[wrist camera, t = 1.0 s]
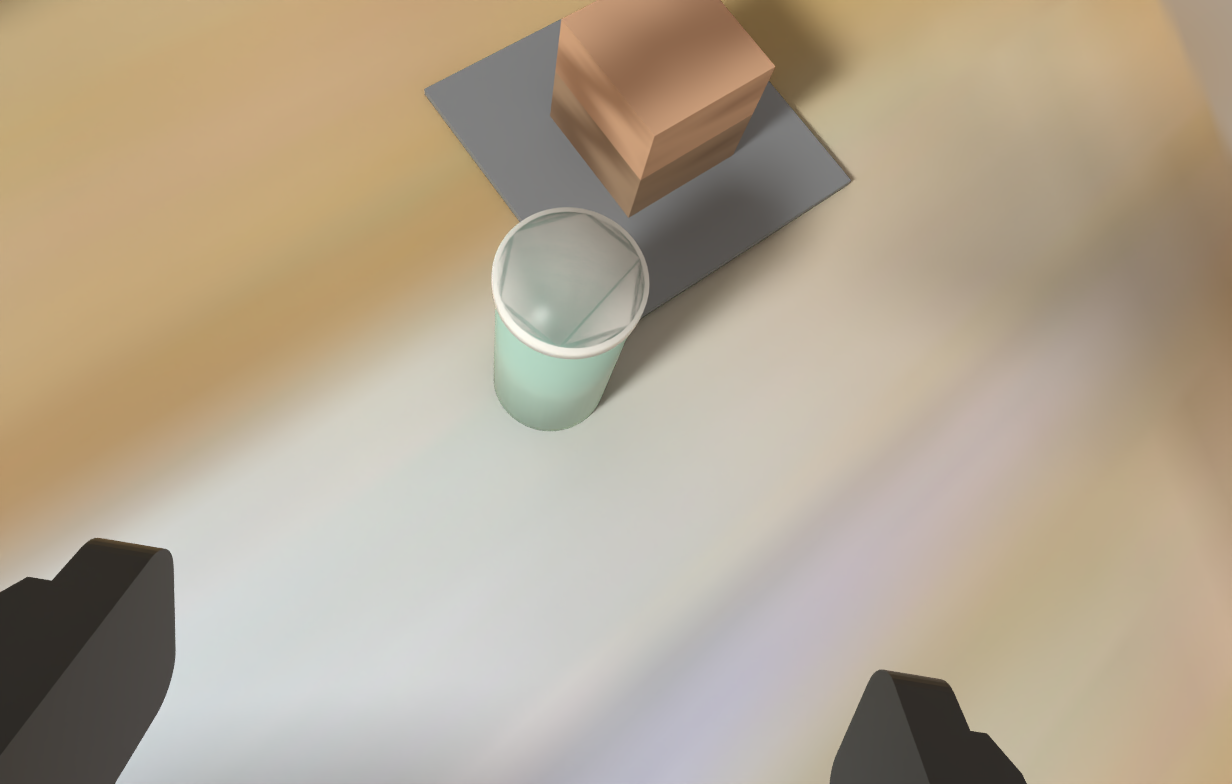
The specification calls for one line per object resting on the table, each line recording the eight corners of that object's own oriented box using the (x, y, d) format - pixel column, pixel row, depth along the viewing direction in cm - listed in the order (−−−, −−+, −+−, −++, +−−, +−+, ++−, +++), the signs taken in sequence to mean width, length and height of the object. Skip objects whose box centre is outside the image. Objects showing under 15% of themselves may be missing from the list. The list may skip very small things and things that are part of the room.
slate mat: (424, 94, 41) (424, 89, 40) (669, -32, 44) (671, -38, 44) (607, 339, 38) (608, 336, 38) (848, 184, 42) (851, 180, 42)
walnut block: (550, 115, 41) (555, 71, 38) (655, 58, 42) (668, 11, 39) (628, 217, 40) (640, 180, 37) (732, 155, 41) (752, 114, 38)
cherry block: (555, 71, 38) (561, 18, 35) (668, 11, 39) (683, -44, 36) (640, 180, 37) (654, 136, 34) (752, 114, 38) (775, 66, 35)
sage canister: (466, 361, 37) (460, 256, 28) (563, 301, 39) (589, 181, 29) (534, 457, 36) (552, 382, 27) (631, 392, 38) (680, 299, 28)
